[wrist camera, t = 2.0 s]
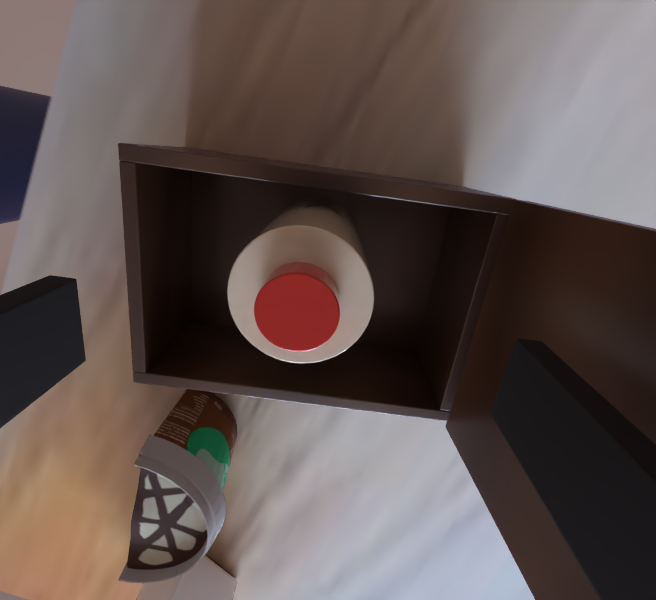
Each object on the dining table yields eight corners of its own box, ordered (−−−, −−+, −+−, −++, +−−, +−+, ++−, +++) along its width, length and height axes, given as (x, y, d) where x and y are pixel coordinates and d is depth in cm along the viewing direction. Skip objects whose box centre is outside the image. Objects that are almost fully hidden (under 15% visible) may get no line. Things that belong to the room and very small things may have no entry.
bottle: (271, 271, 28) (213, 373, 15) (278, 188, 26) (217, 221, 13) (351, 282, 28) (363, 392, 15) (364, 200, 26) (392, 245, 13)
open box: (185, 325, 30) (133, 382, 23) (184, 147, 26) (117, 142, 18) (421, 355, 31) (449, 422, 23) (464, 186, 26) (517, 199, 18)
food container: (235, 489, 37) (201, 602, 27) (173, 475, 36) (117, 585, 27) (263, 387, 32) (233, 481, 23) (193, 370, 32) (133, 458, 23)
